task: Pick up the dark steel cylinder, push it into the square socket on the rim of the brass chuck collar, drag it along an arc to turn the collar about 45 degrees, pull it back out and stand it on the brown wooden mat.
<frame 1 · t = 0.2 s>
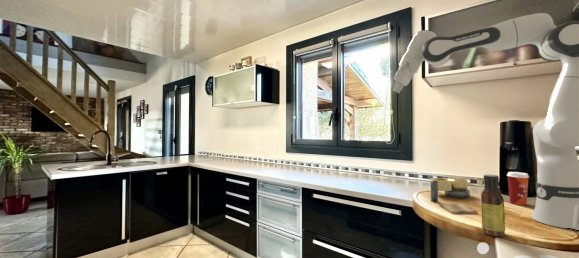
hand: (395, 91, 124), 54 cm above the table, tool tilted 30°, fingers open, 8 cm apart
sauce bottle: (492, 233, 86), on the table
paper cup: (518, 203, 116), on the table
wooden mat: (457, 209, 110), on the table
chuck collar: (449, 184, 131), point 6 cm above the table, hinge at 0.0°
steel cylinder: (434, 201, 122), on the table
chuck base: (456, 195, 131), on the table
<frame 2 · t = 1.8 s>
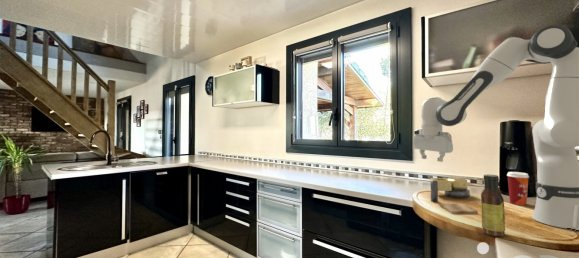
hand: (431, 160, 122), 20 cm above the table, tool pointing down, fingers open, 8 cm apart
nothing on the table moved.
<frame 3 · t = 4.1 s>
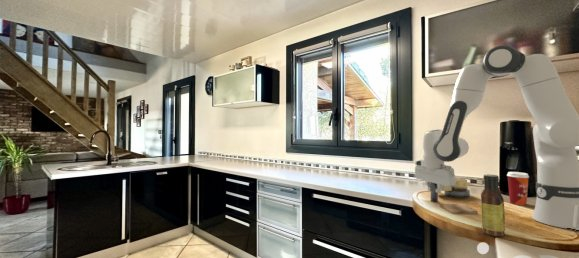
hand: (434, 191, 122), 5 cm above the table, tool pointing down, fingers closed on steel cylinder, 3 cm apart
steel cylinder: (434, 201, 122), on the table, touching gripper
everything else where it was.
when the fingers open (10 cm above the table, at t = 8.8 s): steel cylinder stays where it is, resting on chuck collar.
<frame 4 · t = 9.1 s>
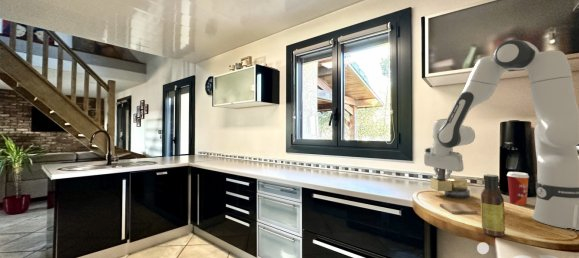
hand: (442, 177, 130), 10 cm above the table, tool pointing down, fingers open, 4 cm apart
chuck collar: (449, 184, 131), point 6 cm above the table, hinge at 2.1°, touching steel cylinder
steel cylinder: (441, 185, 131), point 5 cm above the table, tilted 7°, touching chuck collar, gripper
everything else where it was.
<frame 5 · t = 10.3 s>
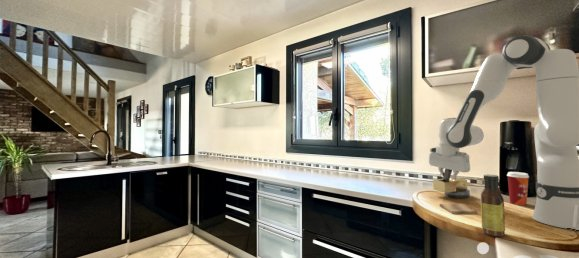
hand: (448, 177, 127), 10 cm above the table, tool pointing down, fingers open, 5 cm apart
chuck collar: (451, 184, 130), point 6 cm above the table, hinge at 19.5°, touching steel cylinder
steel cylinder: (444, 186, 129), point 5 cm above the table, tilted 17°, touching chuck collar, gripper
everything else where it was.
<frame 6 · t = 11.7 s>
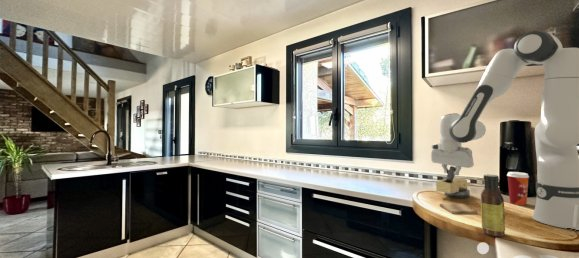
hand: (451, 174, 125), 12 cm above the table, tool pointing down, fingers closed on steel cylinder, 4 cm apart
chuck collar: (452, 184, 129), point 6 cm above the table, hinge at 31.5°, touching steel cylinder
steel cylinder: (447, 185, 128), point 6 cm above the table, tilted 19°, touching chuck collar, gripper
everything else where it was.
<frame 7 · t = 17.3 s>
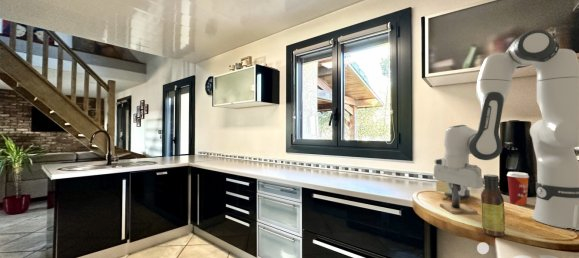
hand: (456, 193, 110), 7 cm above the table, tool pointing down, fingers closed on steel cylinder, 3 cm apart
chuck collar: (452, 184, 129), point 6 cm above the table, hinge at 31.5°
steel cylinder: (455, 206, 110), point 1 cm above the table, touching gripper, wooden mat
everything else where it was.
when the fingers open (7 cm above the table, at t = 17.5 s): steel cylinder stays where it is, resting on wooden mat.
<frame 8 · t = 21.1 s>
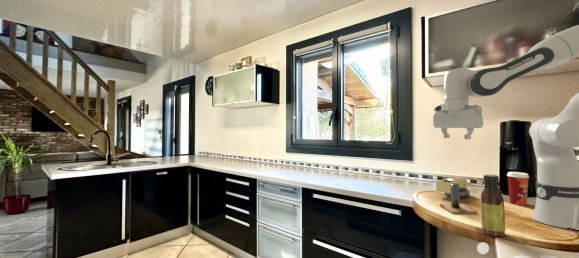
hand: (456, 138, 108), 31 cm above the table, tool pointing down, fingers open, 8 cm apart
steel cylinder: (455, 207, 110), point 1 cm above the table, touching wooden mat
everything else where it was.
at the end: chuck collar at +32° (first picture: +0°); steel cylinder inside the target area on the wooden mat (0.8 cm from its centre), point 1.0 cm above the wooden mat's base; steel cylinder tilted 1° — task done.
